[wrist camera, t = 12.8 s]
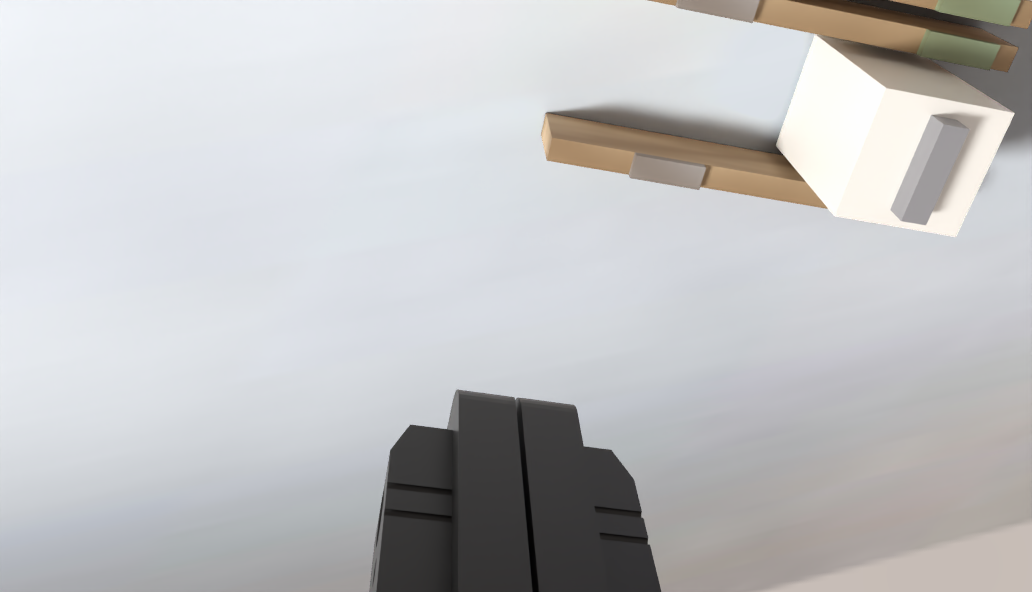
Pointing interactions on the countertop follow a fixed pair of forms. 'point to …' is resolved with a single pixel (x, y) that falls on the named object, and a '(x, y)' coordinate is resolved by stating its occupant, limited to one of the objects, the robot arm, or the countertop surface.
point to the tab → (890, 136)
